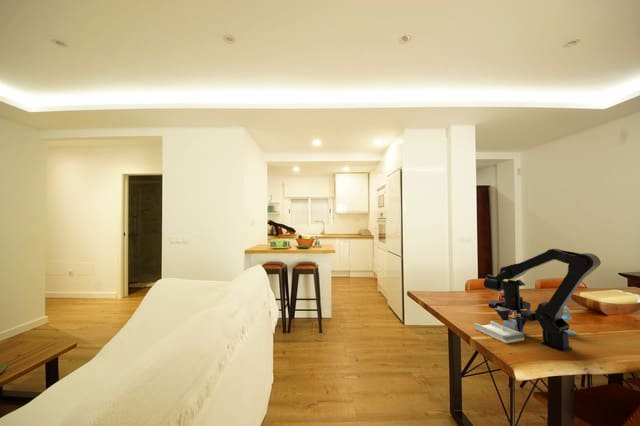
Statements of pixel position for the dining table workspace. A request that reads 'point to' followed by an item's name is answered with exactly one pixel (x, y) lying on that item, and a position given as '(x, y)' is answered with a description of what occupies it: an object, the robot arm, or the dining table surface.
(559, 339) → the robot arm
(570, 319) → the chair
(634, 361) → the dining table surface
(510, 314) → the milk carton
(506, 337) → the board
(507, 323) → the block
